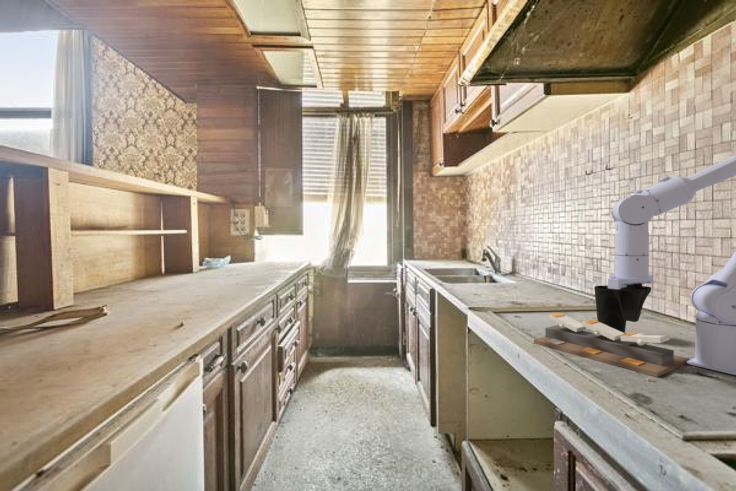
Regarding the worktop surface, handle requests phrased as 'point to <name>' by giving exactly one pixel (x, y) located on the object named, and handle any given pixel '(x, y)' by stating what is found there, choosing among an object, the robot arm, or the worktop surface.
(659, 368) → the switch board
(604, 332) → the switch
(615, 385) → the worktop surface
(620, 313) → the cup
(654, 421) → the worktop surface
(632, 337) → the switch
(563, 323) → the switch
